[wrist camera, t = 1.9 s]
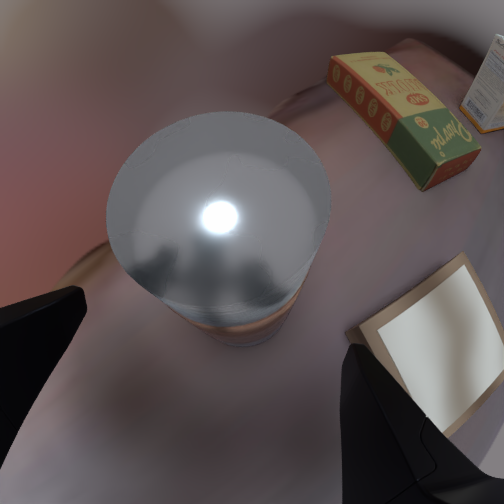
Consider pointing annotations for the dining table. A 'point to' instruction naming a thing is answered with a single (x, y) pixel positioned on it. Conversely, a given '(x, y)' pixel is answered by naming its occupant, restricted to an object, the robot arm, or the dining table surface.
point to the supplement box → (487, 91)
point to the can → (221, 221)
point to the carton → (404, 116)
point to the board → (440, 343)
